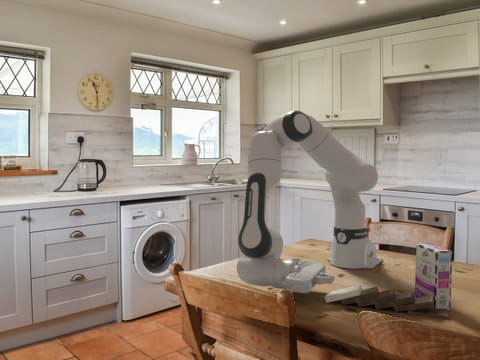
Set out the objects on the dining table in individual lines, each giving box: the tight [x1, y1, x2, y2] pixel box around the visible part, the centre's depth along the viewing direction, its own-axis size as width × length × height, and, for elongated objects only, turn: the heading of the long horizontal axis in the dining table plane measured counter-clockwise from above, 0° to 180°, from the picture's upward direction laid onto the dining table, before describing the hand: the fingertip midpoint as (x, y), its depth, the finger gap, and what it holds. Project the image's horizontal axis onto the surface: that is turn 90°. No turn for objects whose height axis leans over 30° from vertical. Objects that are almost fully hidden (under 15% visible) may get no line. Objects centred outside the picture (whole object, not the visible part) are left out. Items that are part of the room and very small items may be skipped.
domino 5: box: [406, 308, 449, 320], centre depth 121 cm, size 2×5×10 cm
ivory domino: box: [324, 284, 364, 304], centre depth 130 cm, size 2×5×10 cm
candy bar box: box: [414, 242, 453, 311], centre depth 128 cm, size 11×5×16 cm, turn 7°
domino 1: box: [340, 286, 380, 306], centre depth 128 cm, size 2×5×10 cm
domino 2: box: [356, 288, 397, 308], centre depth 127 cm, size 2×5×10 cm
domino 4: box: [393, 296, 434, 313], centre depth 123 cm, size 2×5×10 cm
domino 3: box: [373, 291, 415, 311], centre depth 125 cm, size 2×5×10 cm
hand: (333, 279), depth 131 cm, fingers closed
